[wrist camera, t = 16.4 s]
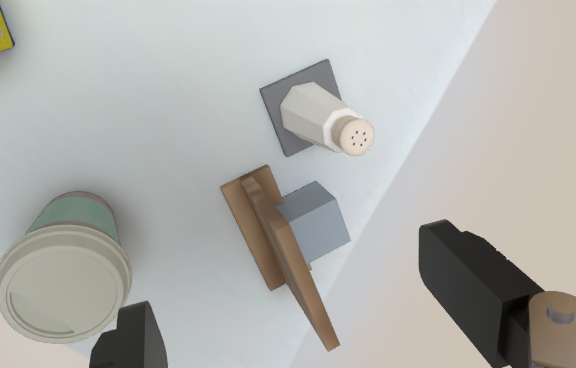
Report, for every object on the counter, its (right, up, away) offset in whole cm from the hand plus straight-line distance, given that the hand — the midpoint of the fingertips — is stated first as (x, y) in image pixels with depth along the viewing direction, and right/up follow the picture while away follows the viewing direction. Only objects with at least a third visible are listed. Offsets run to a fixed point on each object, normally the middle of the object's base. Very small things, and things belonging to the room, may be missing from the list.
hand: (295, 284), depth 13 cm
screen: (-2, -2, +34) cm, 34 cm away
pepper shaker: (+1, +10, +30) cm, 32 cm away
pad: (+1, +10, +31) cm, 32 cm away
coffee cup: (-19, 0, +28) cm, 34 cm away
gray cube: (+1, 0, +35) cm, 35 cm away
